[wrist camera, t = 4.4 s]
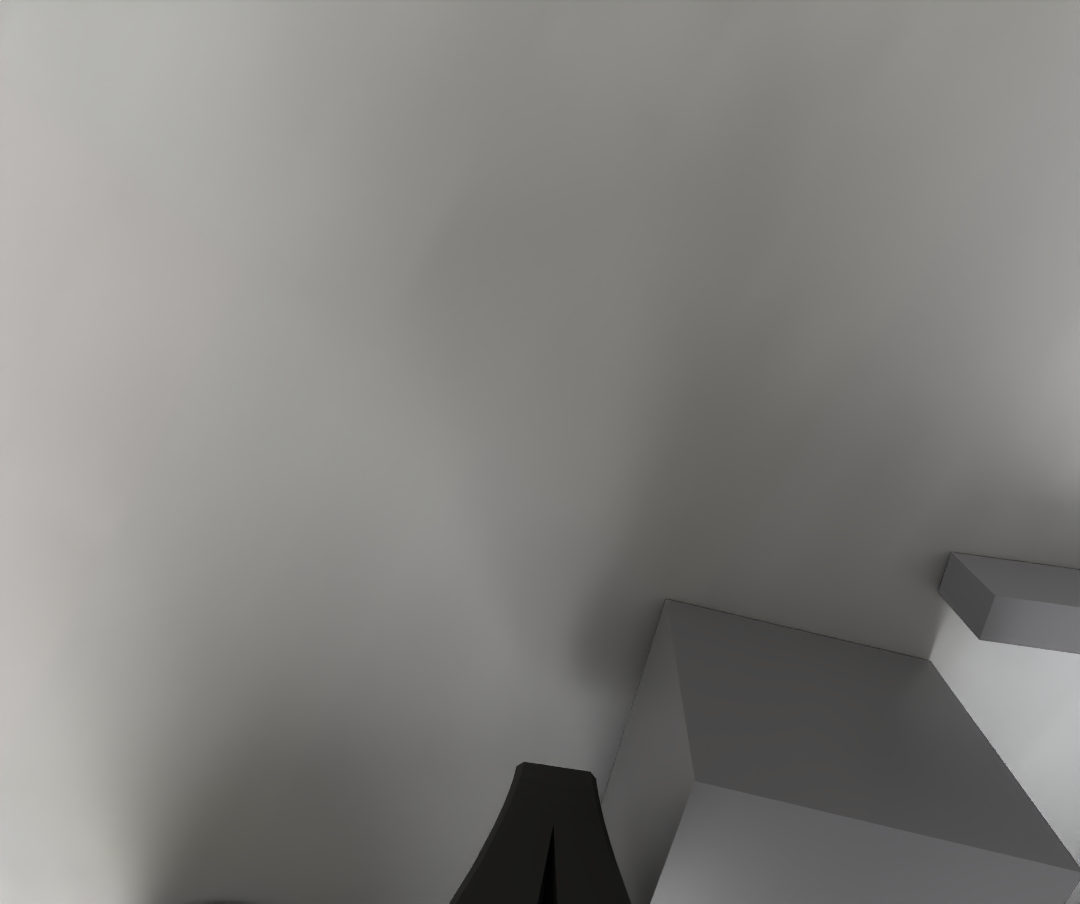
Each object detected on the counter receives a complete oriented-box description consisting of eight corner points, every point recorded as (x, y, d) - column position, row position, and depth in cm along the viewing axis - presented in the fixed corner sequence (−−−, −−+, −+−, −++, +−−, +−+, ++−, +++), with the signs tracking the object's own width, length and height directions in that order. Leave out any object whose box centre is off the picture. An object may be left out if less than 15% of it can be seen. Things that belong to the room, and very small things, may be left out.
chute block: (820, 895, 15) (904, 1159, 11) (589, 840, 15) (584, 1082, 11) (929, 661, 13) (1083, 873, 9) (665, 599, 13) (695, 781, 9)
